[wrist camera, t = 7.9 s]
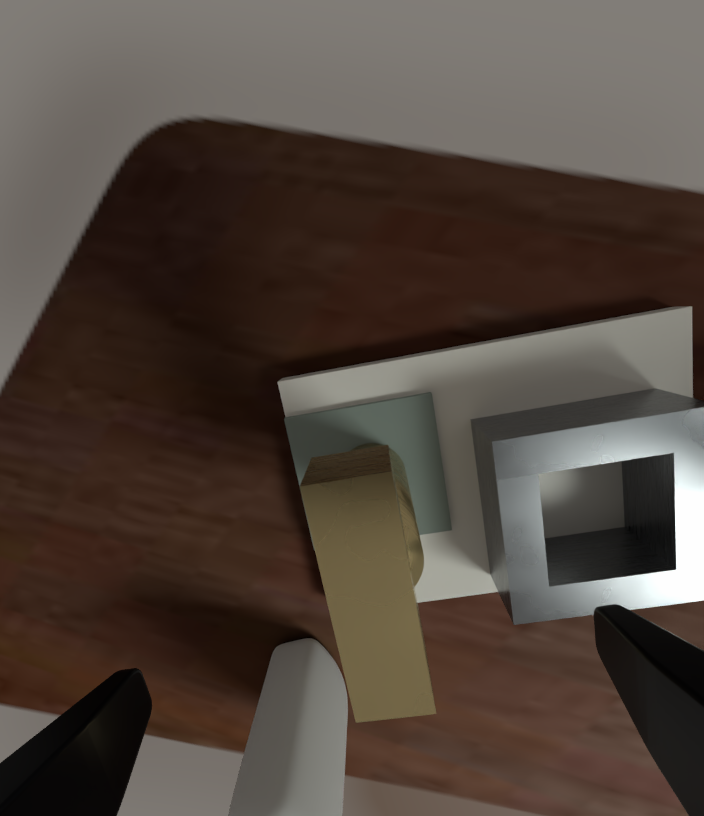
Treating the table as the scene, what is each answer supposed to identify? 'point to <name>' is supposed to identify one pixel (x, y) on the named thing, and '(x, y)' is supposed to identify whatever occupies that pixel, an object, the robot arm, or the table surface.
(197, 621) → the table surface
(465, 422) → the board
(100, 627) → the table surface
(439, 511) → the mat
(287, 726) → the eye dropper bottle
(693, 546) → the grey square frame
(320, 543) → the tan flat lever
